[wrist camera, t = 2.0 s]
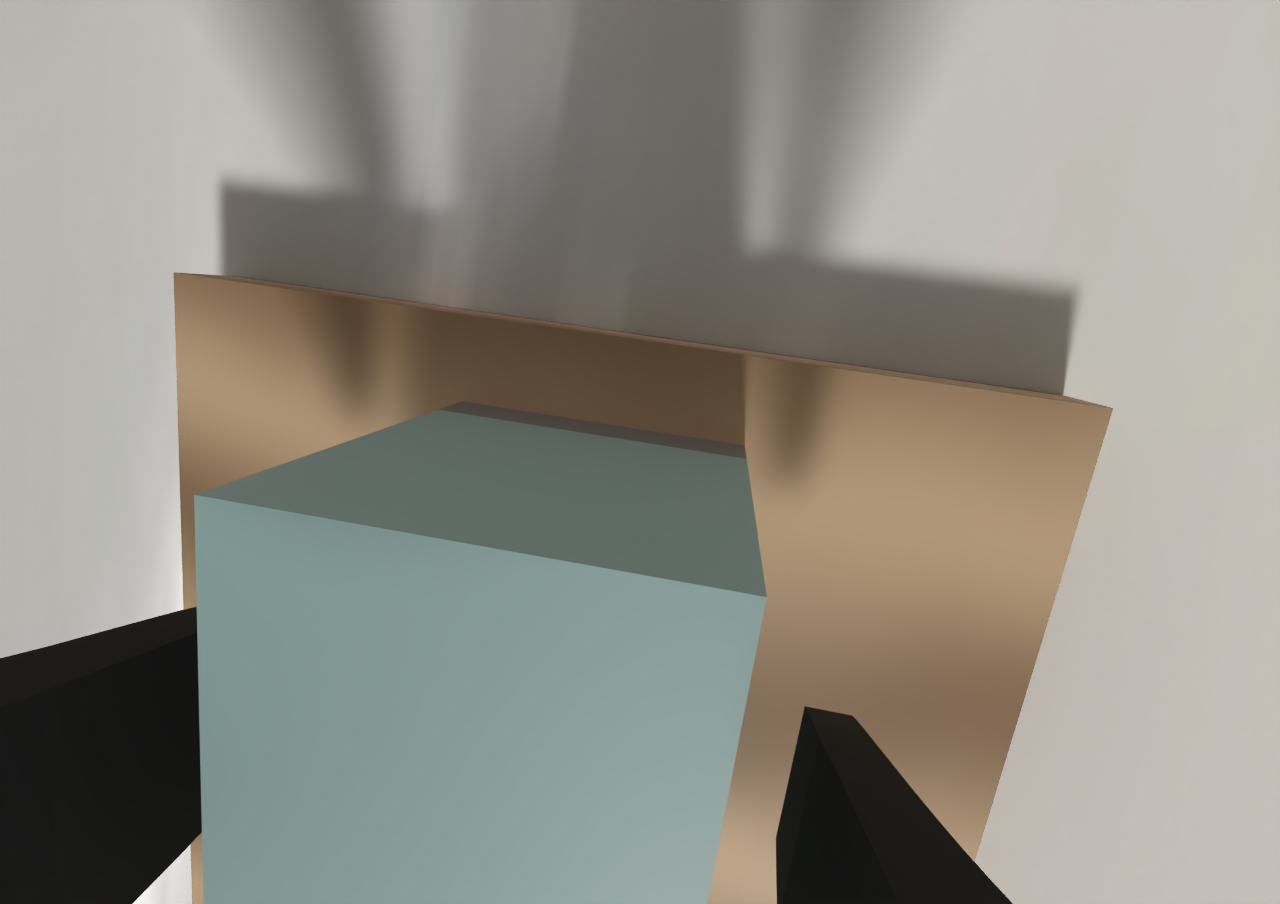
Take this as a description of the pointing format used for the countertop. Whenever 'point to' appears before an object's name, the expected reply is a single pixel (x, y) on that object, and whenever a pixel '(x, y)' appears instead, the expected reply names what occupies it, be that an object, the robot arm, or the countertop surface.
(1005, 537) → the oak board
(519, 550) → the block
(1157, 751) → the countertop surface
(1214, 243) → the countertop surface
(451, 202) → the countertop surface
